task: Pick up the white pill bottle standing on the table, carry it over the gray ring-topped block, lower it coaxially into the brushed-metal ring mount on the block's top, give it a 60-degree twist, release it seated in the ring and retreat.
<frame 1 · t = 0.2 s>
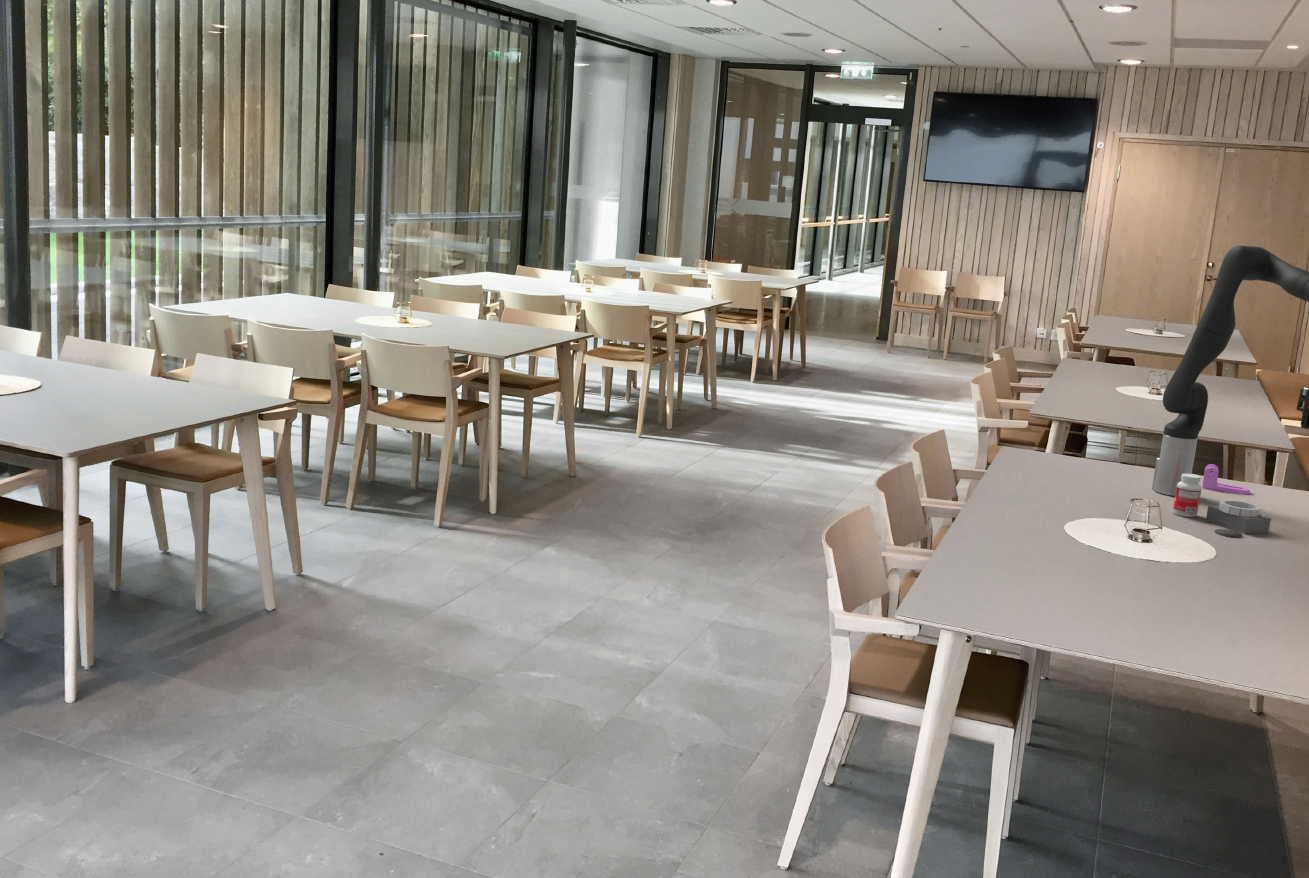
pill bottle: (1184, 515, 309), on the table
gray ring-topped block: (1236, 526, 299), on the table
lens cap: (1227, 535, 291), on the table
bracket: (1225, 491, 344), on the table
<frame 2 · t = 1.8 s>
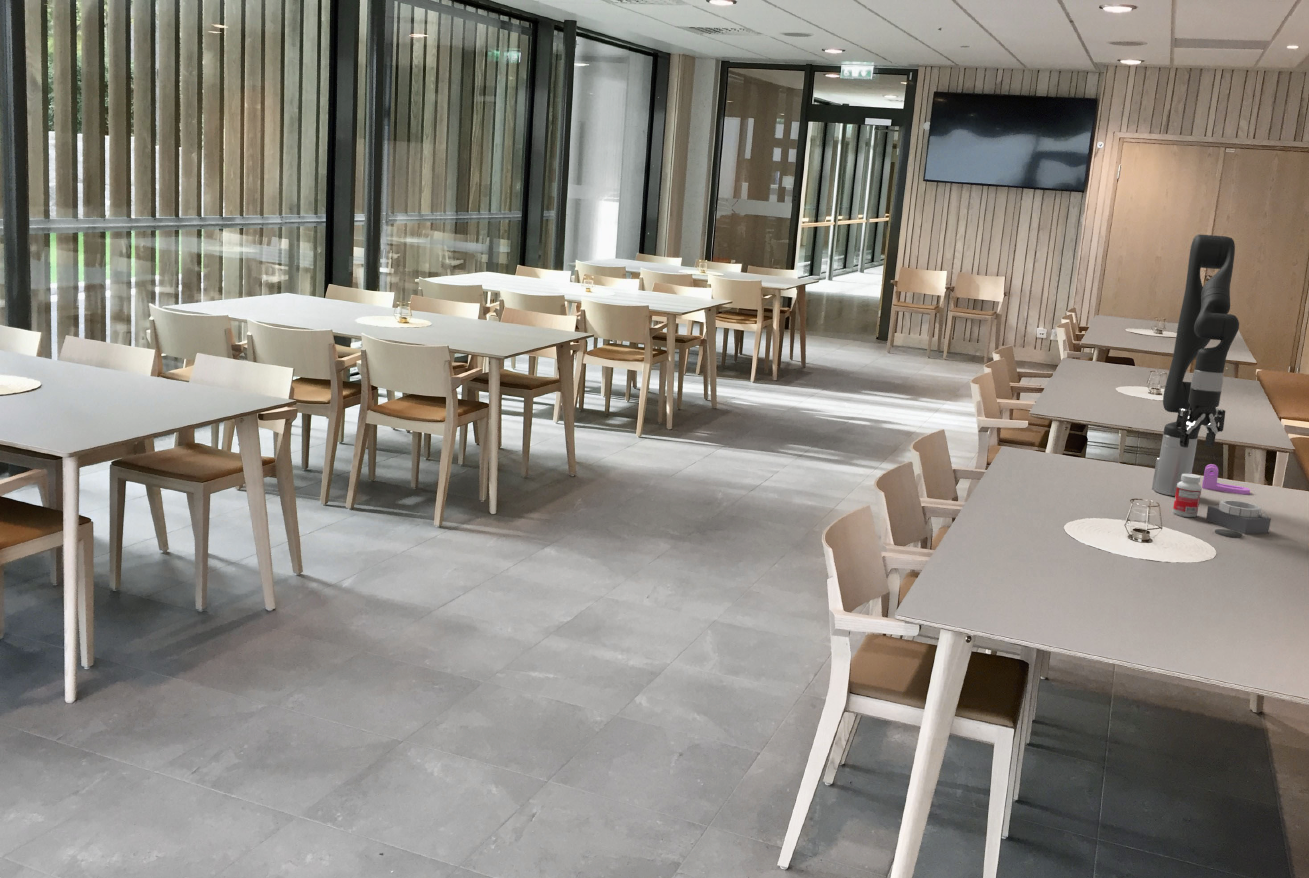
hand: (1196, 446, 305), 19 cm above the table, fingers open, 8 cm apart
nothing on the table moved.
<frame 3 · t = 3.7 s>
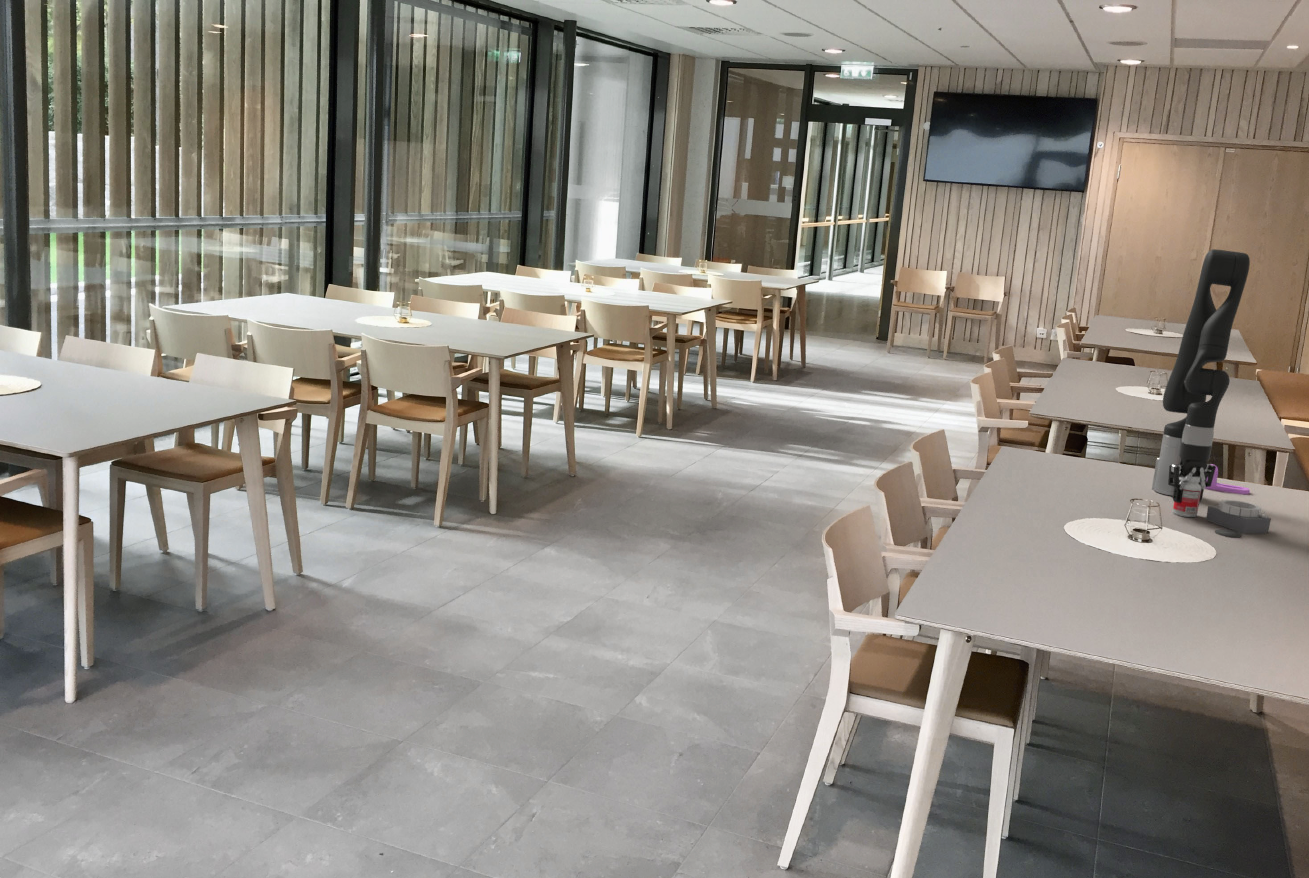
hand: (1186, 501, 308), 4 cm above the table, fingers closed on pill bottle, 6 cm apart
pill bottle: (1184, 515, 309), on the table, touching gripper
everything else where it was.
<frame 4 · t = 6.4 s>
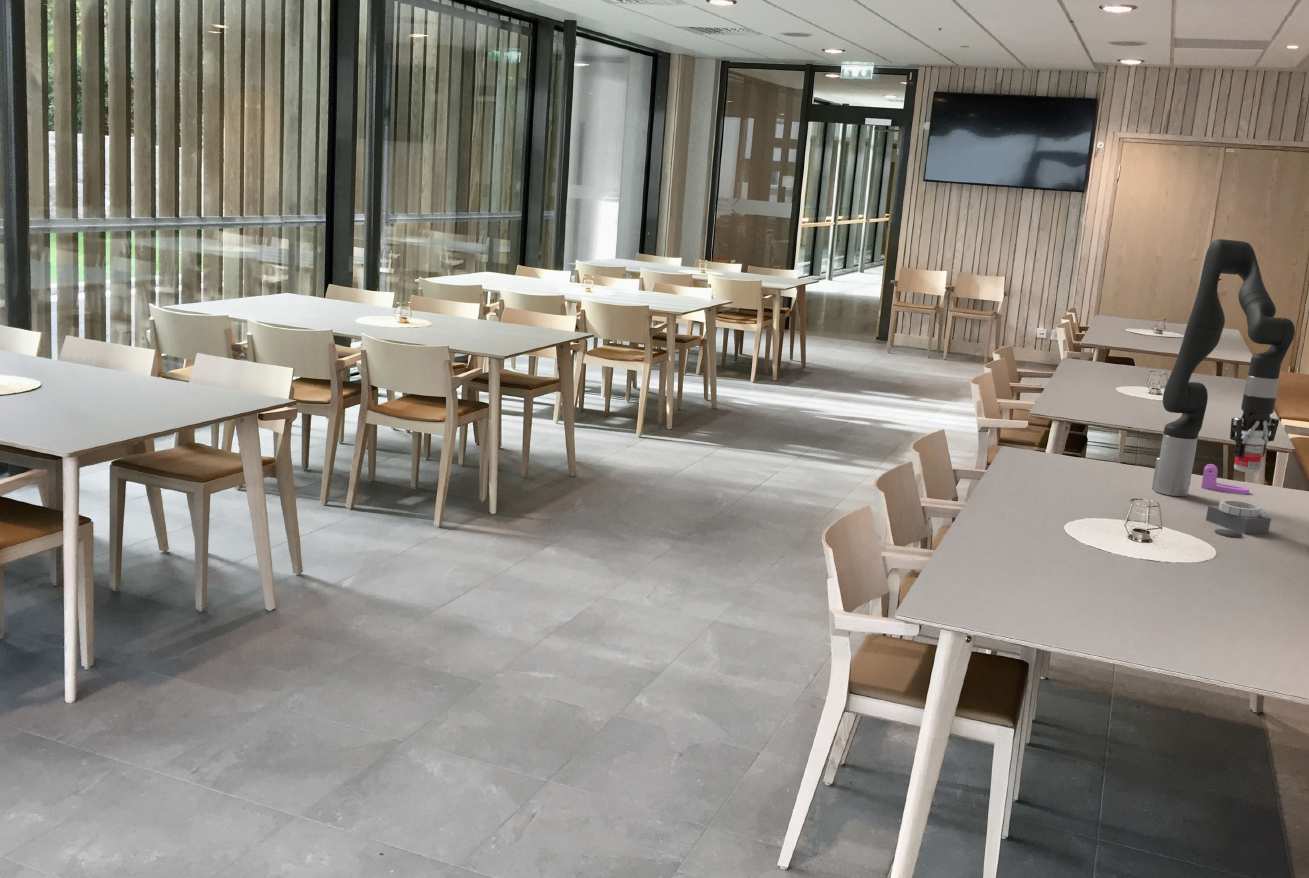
hand: (1248, 456, 296), 19 cm above the table, fingers closed on pill bottle, 6 cm apart
pill bottle: (1246, 471, 297), point 15 cm above the table, touching gripper
everything else where it was.
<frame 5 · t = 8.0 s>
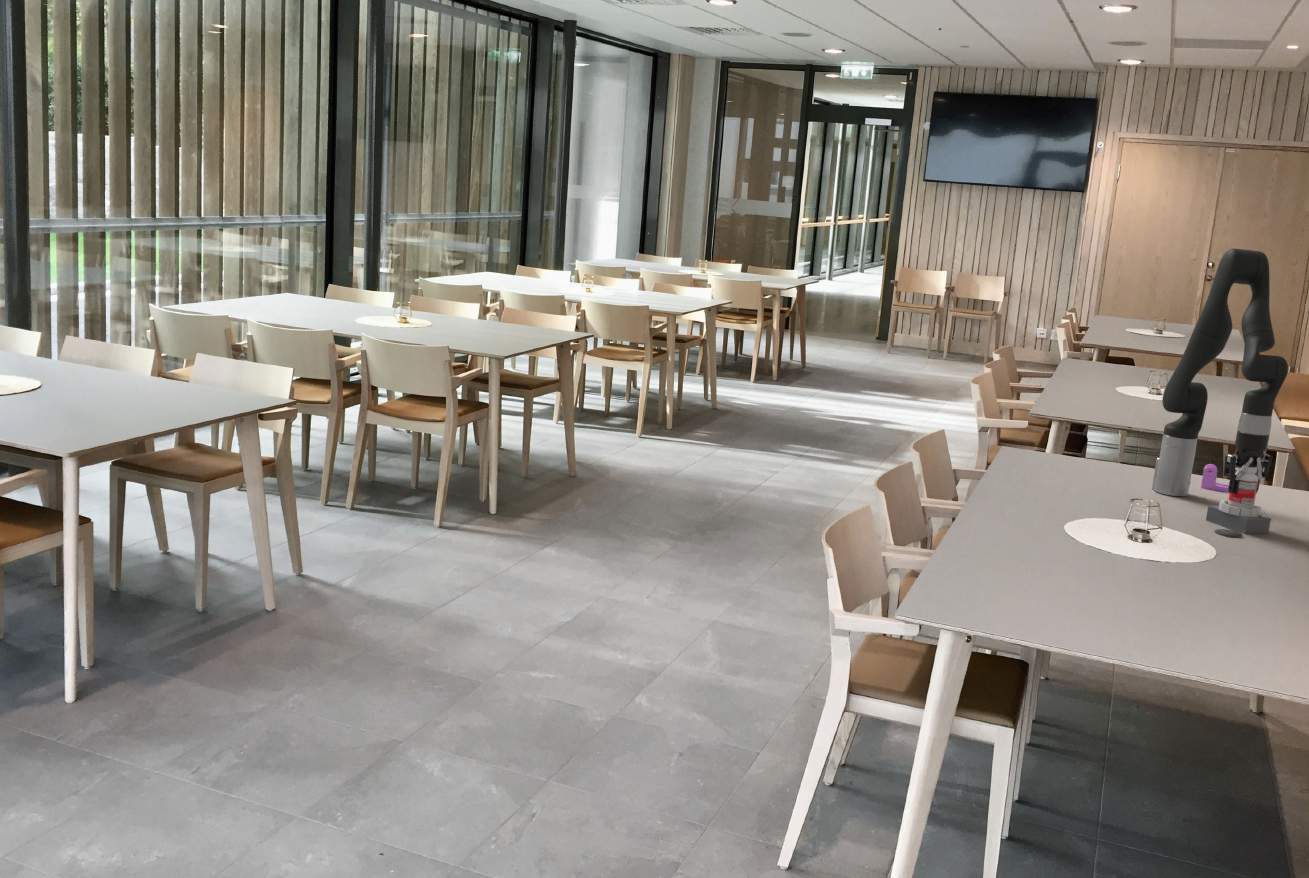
hand: (1242, 492, 298), 9 cm above the table, fingers closed on pill bottle, 6 cm apart
pill bottle: (1240, 507, 298), point 5 cm above the table, touching gripper
everything else where it was.
when the fingers open (8 cm above the table, at t = 9.1 s): pill bottle stays where it is, resting on gray ring-topped block.
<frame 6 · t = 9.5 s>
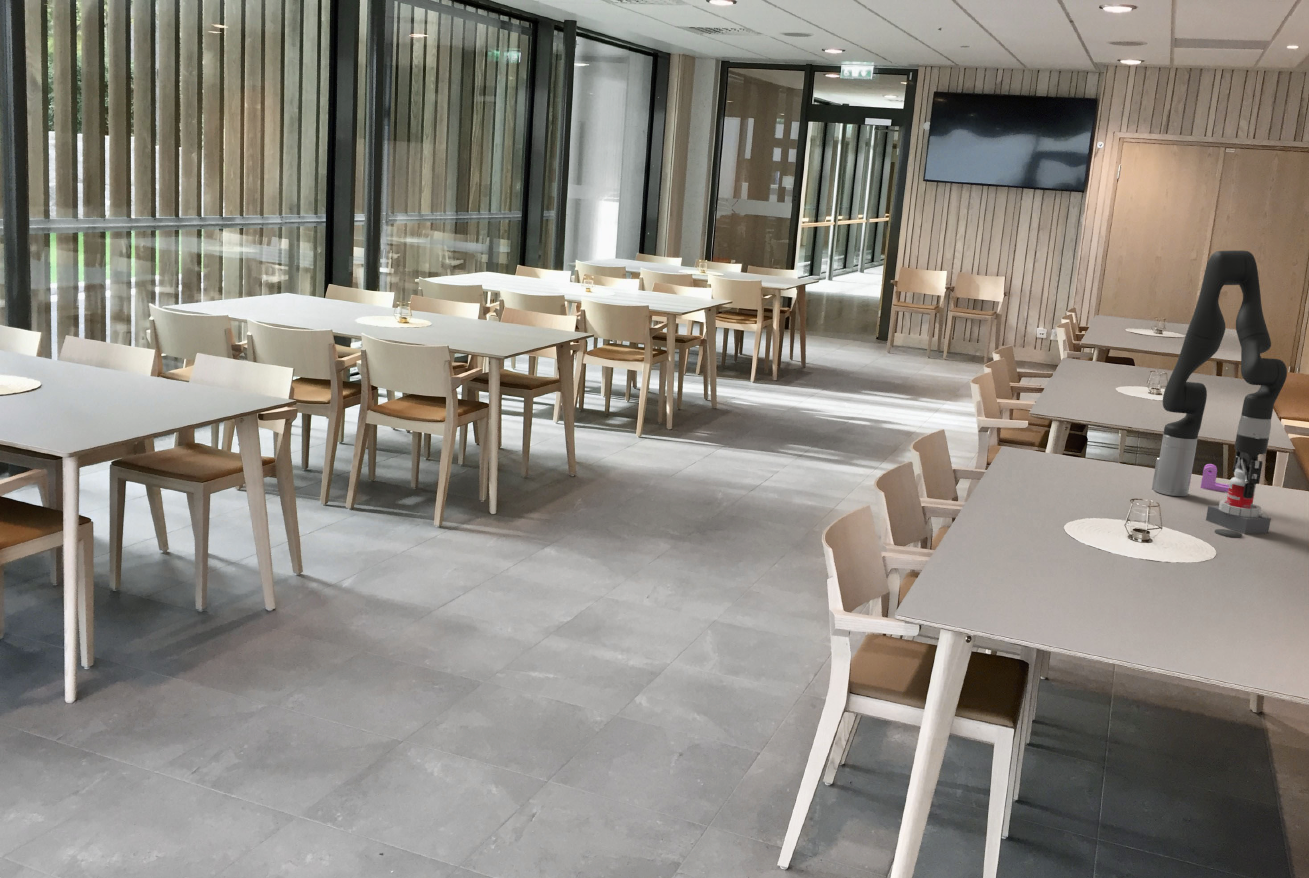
hand: (1242, 494, 298), 9 cm above the table, fingers open, 8 cm apart
pill bottle: (1237, 512, 299), point 4 cm above the table, touching gray ring-topped block
everything else where it was.
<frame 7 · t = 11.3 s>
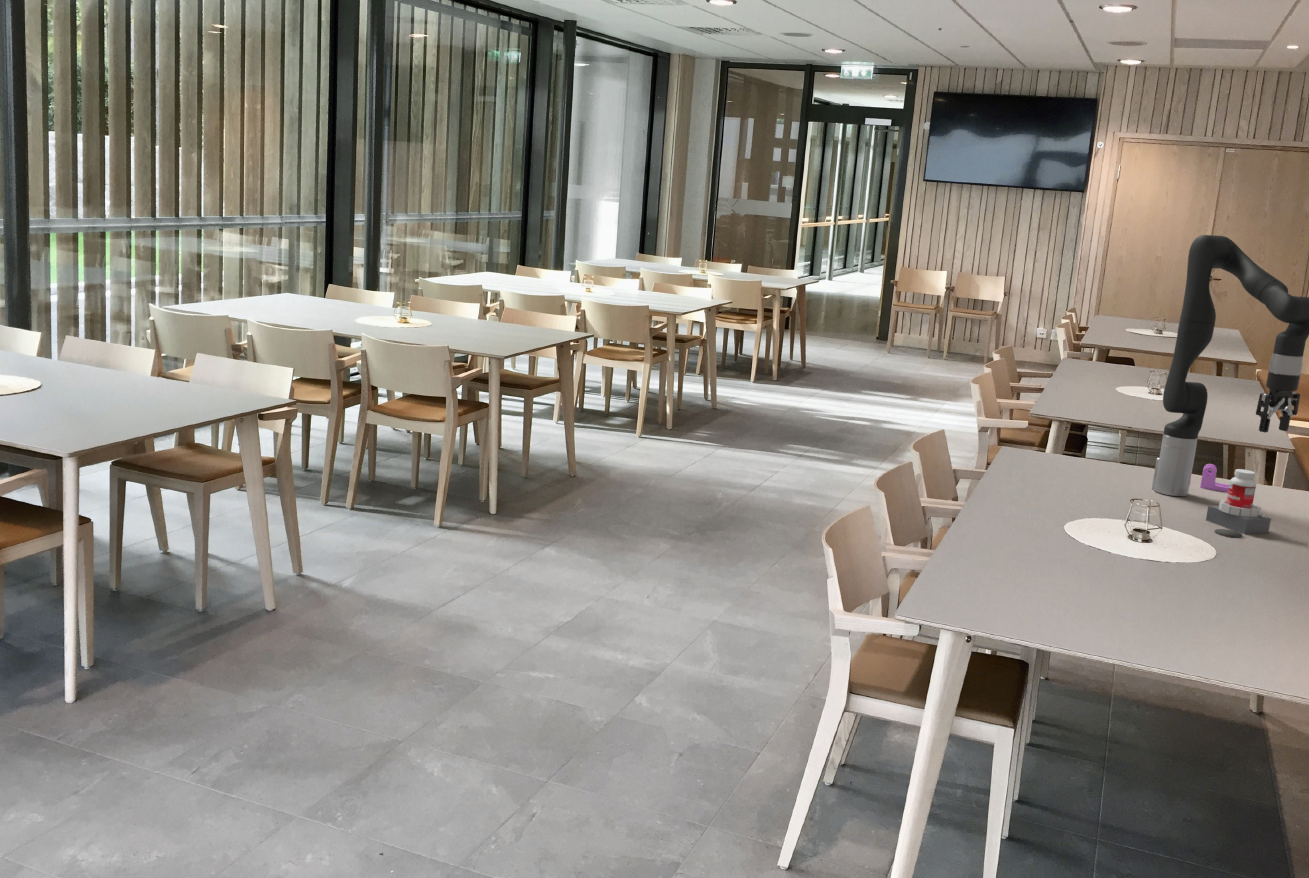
hand: (1273, 431, 303), 25 cm above the table, fingers open, 8 cm apart
nothing on the table moved.
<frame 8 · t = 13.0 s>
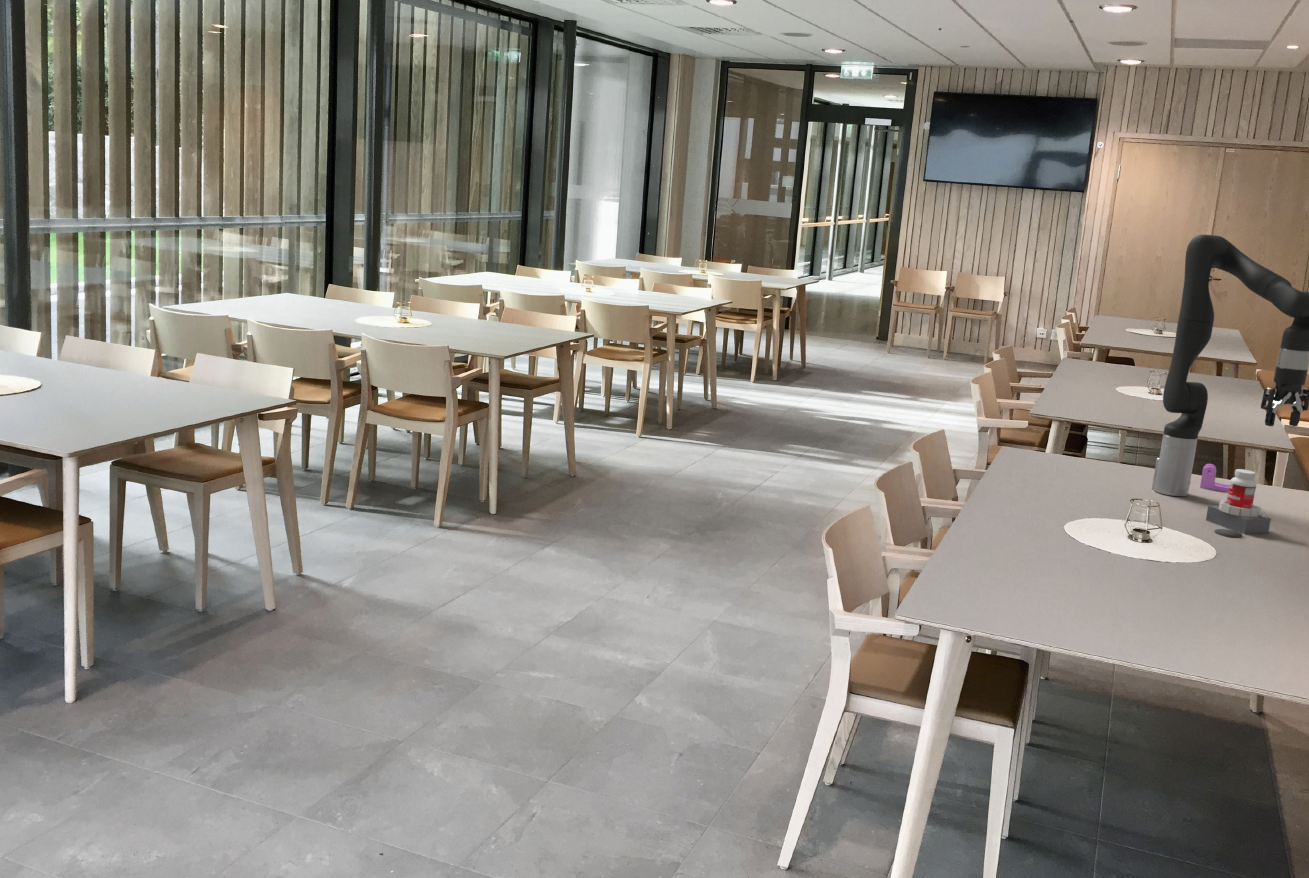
hand: (1281, 425, 305), 26 cm above the table, fingers open, 8 cm apart
nothing on the table moved.
at the end: pill bottle 0.3 cm off-centre on the gray ring-topped block, point 3.8 cm above the gray ring-topped block's base; pill bottle tilted 0°; the gripper is holding nothing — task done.
